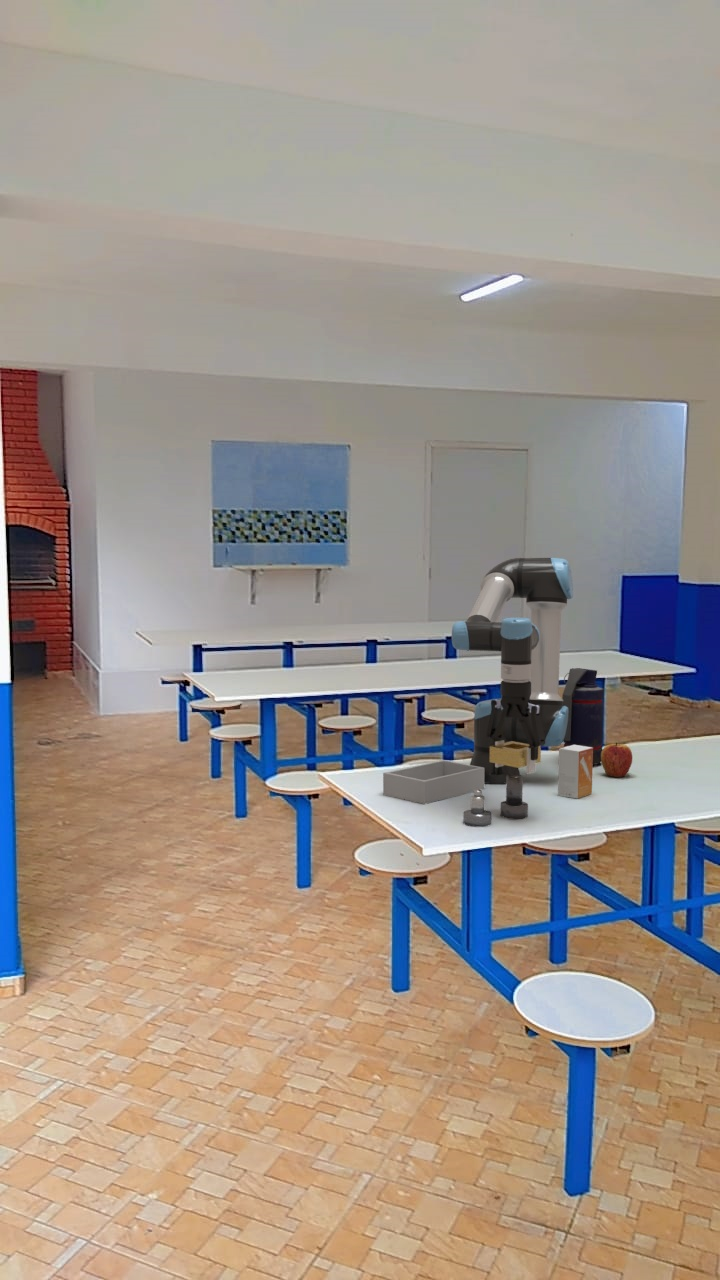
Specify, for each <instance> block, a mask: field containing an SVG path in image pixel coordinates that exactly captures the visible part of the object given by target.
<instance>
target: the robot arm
mask: <svg viewBox="0 0 720 1280" xmlns="http://www.w3.org/2000/svg"><path fill="white" fill-rule="evenodd" d="M571 570H572V569H571V565H570V563H569V562H568V560H567V559H566V558H561V557H559V558H558V557H516V558H515V557H514V558H509V559H506V560H504V561H501V562H500V563H499V564H497V565H495V566H493V567H492V568H491V569H490V570H489V571H488V572H487V573H486V574H485V576H484V577H483V579H482V581H481V584H480V590H481V591H480V593H479V595H478V597H477V599H476V601H475V603H474V605H473V607H472V609H471V611H470V613H469V615H468V617H467V619H466V621H465V620H462V621H456V622H454V623H453V625H452V629H451V643H452V644H451V645H452V647H453V648H454V649H455V650H461V651H466V652H467V651H468V652H469V651H470V652H471V651H474V652H475V651H478V652H479V651H480V652H481V651H482V652H500V679H502V680H501V681H500V695H501V698H492V699H486V700H482V701H479V702H477V704H475V706H474V717H473V721H474V722H473V723H474V724H473V725H474V727H473V745H474V746H473V754H472V757H471V760H470V761H469V762H470V763H469V765H472V766H478V767H483V768H484V784H498V785H499V784H506V776H507V775H521V771H520V769H519V768H517V767H512V766H506V765H501V764H496V763H491V762H490V746H493V745H498V744H502V743H506V742H510V741H514V742H519V743H525V744H529V746H528V747H527V766H526V774H534V773H536V769H537V767H536V765H537V763H536V760H537V759H538V747H539V746H541V747H544V748H546V747H558V746H560V745H562V744H563V743H564V737H565V733H566V729H567V723H568V713H569V709H568V707H566V706H563V699H562V697H561V696H560V693H559V684H560V660H561V659H560V656H561V654H560V653H561V652H560V651H561V650H560V649H561V630H562V629H561V628H562V627H561V626H562V611H563V609H565V608H566V607H567V606H568V600H571V599H572V598H573V596H574V592H573V591H574V586H573V585H574V584H573V576H572V571H571ZM515 598H516V599H517V598H518V599H525V600H526V601H525V604H526V606H527V607H528V608H529V609H530V611H531V612H530V618H528V617H506V618H504V619H503V618H502V620H501V622H499V621H498V620H499V618H500V616H501V613H502V611H503V609H504V607H505V605H506V603H507V602H509V601H510V600H511V599H515Z"/></svg>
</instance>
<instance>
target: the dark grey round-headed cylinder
mask: <svg viewBox="0 0 720 1280" xmlns="http://www.w3.org/2000/svg"><path fill="white" fill-rule="evenodd" d="M523 778H524V777H523V775H521V774H520V775H507V776H506V783H505V785H506V787H505V788H506V790H505V800H503V801H501V802H500V807H499V809H500V810H499V814H500V817H501V818H504V819H508V820H510V819H511V820H523V819H526V818H528V817H529V804H528V802H525V801H523V788H524V787H523V785H524V783H523Z"/></svg>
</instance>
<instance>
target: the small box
mask: <svg viewBox="0 0 720 1280" xmlns="http://www.w3.org/2000/svg"><path fill="white" fill-rule="evenodd" d="M593 765H594V764H593V747H586V746H579V745H571V746H567V747H564V746H563V747H561V748H559V749H558V771H557V773H558V775H557V776H558V778H557V779H558V781H557V796H558V797H559V796H561V797H566V798H572V799H581V798H584V797H585V796H586V797H587V796H589V795H592V794H593V767H594V766H593Z"/></svg>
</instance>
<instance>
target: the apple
mask: <svg viewBox="0 0 720 1280" xmlns="http://www.w3.org/2000/svg"><path fill="white" fill-rule="evenodd" d="M632 763H633V754H632V750H631V748H630V746H628V745H627V744H624V743H623V744H618V742H615V743H611V744H610V743H609V744H607V745H605V746H604V747H602V752H601V765H602V768H603V769H604V770H603V771H604V772H605V774H607V775H608V776H611V777H614V778H615V777H616V778H622V777H625V776H626V775H628V773H629V772H630V768H631V766H632Z"/></svg>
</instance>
